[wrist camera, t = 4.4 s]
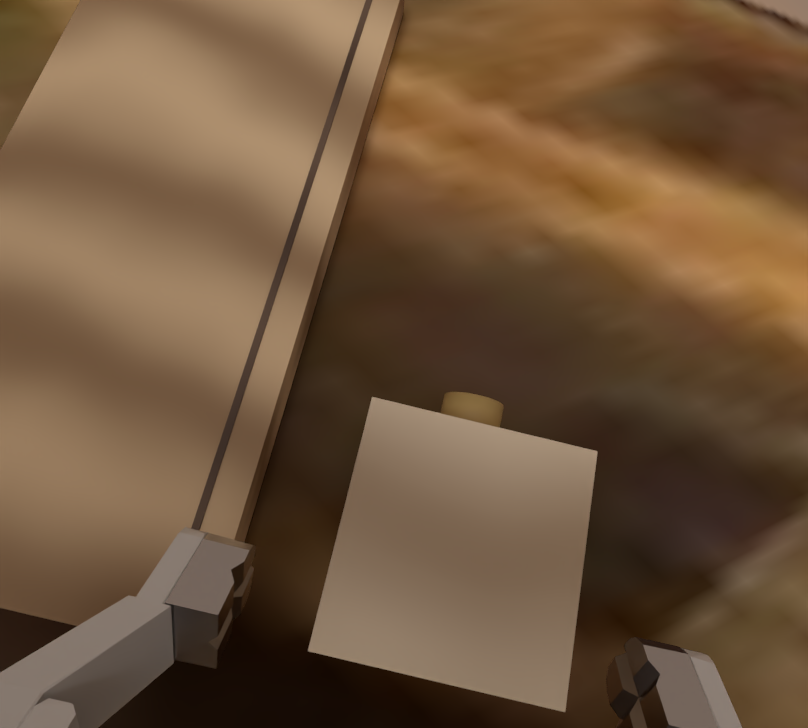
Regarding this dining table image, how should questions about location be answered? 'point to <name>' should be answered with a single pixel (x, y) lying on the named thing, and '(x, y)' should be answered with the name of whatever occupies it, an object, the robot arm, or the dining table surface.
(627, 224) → the dining table surface
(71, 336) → the oak board
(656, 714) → the robot arm
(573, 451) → the beige rectangular block
